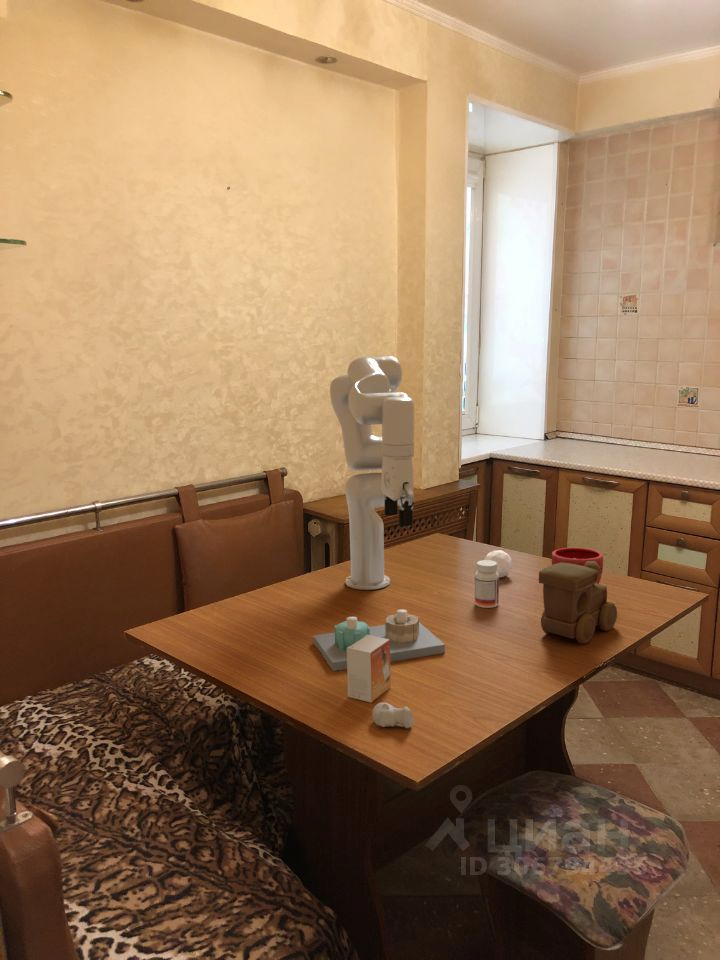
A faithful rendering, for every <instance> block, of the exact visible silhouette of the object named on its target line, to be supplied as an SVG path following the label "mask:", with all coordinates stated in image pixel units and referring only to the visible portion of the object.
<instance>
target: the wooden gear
mask: <svg viewBox="0 0 720 960" xmlns="http://www.w3.org/2000/svg"><path fill="white" fill-rule="evenodd" d="M384 622H385V623H384V625H385V637H386V639H389V640H392V641H395V642H398V643H403V642H409V641H415V640H417V638H418V634H419V622H420V617H418V616H417V615H413V614H411V613H407V622H405V623H398V622H397V613H396V614H389V615H387V616H386V619H385V621H384Z"/></svg>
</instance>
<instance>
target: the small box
mask: <svg viewBox="0 0 720 960" xmlns="http://www.w3.org/2000/svg"><path fill="white" fill-rule="evenodd" d="M346 671H347V673H346V675H347V697H348V698H351V699H354V700H360V701H364V702H367V703H373V702H374V701H375V700H376V699H377V698H379V697H380V696H381V695H383V694H384V693H385V692H386V691H388V690H390V689H391V687H392V686H391V685H392V684H391V681H392V680H391V662H390V640H389V639H385V638H381V637H376V636H371V635H366V636H365V637H364V638H362V639H361V640H359V641H357V642H356V643H354V644H353V645H351V646H349V647H347V669H346Z"/></svg>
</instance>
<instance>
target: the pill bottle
mask: <svg viewBox="0 0 720 960" xmlns="http://www.w3.org/2000/svg"><path fill="white" fill-rule="evenodd" d="M476 570H477V571H476V572H475V575H474V604H475V605H476V606H477V607H480V608H483V609H490V608H491V609H492V608H496V607H497V606H499V604H500V603H499V599H500V596H499V595H500V592H499V591H500V590H499V589H500V577H499V574H498V573H497V572H496V571H497V563H496V562H495V561H491V560H483V559H482V560H479V561H477V563H476Z"/></svg>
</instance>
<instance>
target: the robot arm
mask: <svg viewBox="0 0 720 960" xmlns="http://www.w3.org/2000/svg"><path fill="white" fill-rule="evenodd" d="M402 379H403V369H402V366H401V363H400V361H399V360H398V359H397V358H396V357H394V356H391V355H389V356H388V355H386V356H385V355H383V356H361V357H357V358H355V359H354V360H352V361H351V362H350V363H349V365H348V367H347V374H345V375H344V374H343V375H340V376H337V377H334V379H332V381H331V382H330V386H329V395H330V402H331V406H332V408H333V412H334V413H335V414H334V415H335V416H336V418H337V420H338V422H339V425H340V427H341V434H342V440H343V441H342V442H343V448H344V456H345V460H346V463H347V466H348V468H349V469H350V470H352V471H356V472H362V471H363V472H364V471H379V470H381V472H367V473H358V474H354V475H352V476H350V477H349V478H348V479H347V480H346V481H345V486H344V490H345V491H344V493H345V498H346V502H347V508H348V509H347V510H348V521H349V522H348V523H349V541H350V542H349V550H350V551H349V552H350V553H349V555H350V575H348V576H347V577H346V579H345V585H346V586H347V587H349V588H352V589H354V590H355V589H356V590H360V591H361V590H363V591H364V590H365V591H369V590H370V591H371V590H381V589H382V588H385V587H388V586H389V585H390V583H391V579H390V577H389V576H388V575H386V574H385V544H384V543H385V540H384V539H385V536H384V533H385V532H384V522H383V519H382V518H381V516H380V515H379V514H378V513H377V512H376V511H375V509H376V508H381V507H384V515H385V516H386V517H387V516H389V517H390V516H395V515H396V516H397V515H398V526H399V527H401V528H402V527H410V526H413V524H414V523H413V510H414V503H415V502H414V499H415V494H414V469H413V467H414V466H413V458H414V457H415V402H414V399H412V398H411V397H409V395H408V394H407V393H405V392H401V391H397V390H398V389H399V387H400V385H401V382H402ZM396 391H397V392H396ZM372 425H381V435H380V436H379V435H377V436H375V435H374V434H373V433H374V432H373V429H372ZM398 506H399V507H398ZM398 508H399V509H398Z"/></svg>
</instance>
